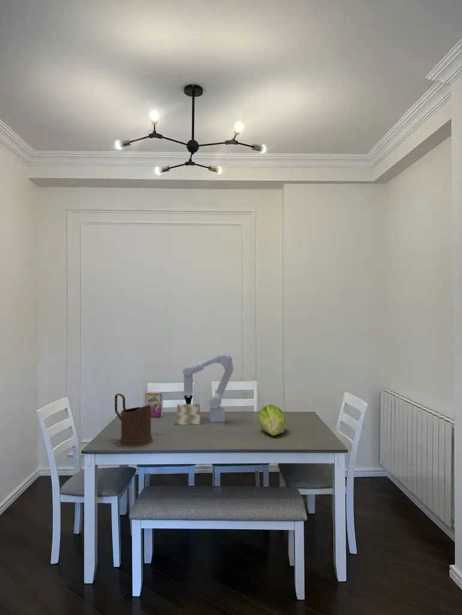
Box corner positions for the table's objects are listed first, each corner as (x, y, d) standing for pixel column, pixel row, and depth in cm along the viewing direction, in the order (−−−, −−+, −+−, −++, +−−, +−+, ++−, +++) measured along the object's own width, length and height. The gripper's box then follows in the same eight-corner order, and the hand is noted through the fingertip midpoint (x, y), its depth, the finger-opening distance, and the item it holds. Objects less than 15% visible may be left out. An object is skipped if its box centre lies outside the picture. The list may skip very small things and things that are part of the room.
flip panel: (200, 423, 298) (199, 404, 299) (200, 424, 296) (200, 404, 298) (177, 424, 296) (177, 404, 298) (177, 424, 295) (177, 404, 296)
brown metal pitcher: (138, 448, 250) (138, 399, 250) (103, 442, 261) (103, 396, 262) (160, 439, 266) (160, 394, 266) (126, 434, 278) (126, 391, 278)
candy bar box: (144, 417, 322) (144, 392, 322) (146, 415, 327) (146, 391, 327) (161, 417, 321) (161, 393, 321) (162, 416, 326) (162, 391, 326)
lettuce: (288, 444, 269) (259, 446, 270) (285, 421, 293) (259, 423, 294) (286, 420, 264) (257, 422, 266) (283, 398, 288) (256, 401, 289)
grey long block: (202, 425, 298) (202, 421, 298) (202, 426, 296) (202, 421, 296) (174, 426, 297) (174, 422, 297) (174, 427, 295) (174, 422, 295)
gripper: (182, 383, 315) (182, 404, 315) (182, 387, 301) (182, 409, 301) (192, 383, 316) (193, 404, 316) (193, 387, 302) (193, 408, 302)
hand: (188, 406), depth 308 cm, fingers closed
